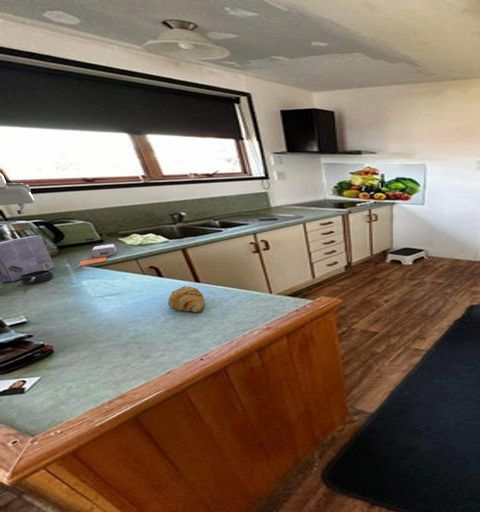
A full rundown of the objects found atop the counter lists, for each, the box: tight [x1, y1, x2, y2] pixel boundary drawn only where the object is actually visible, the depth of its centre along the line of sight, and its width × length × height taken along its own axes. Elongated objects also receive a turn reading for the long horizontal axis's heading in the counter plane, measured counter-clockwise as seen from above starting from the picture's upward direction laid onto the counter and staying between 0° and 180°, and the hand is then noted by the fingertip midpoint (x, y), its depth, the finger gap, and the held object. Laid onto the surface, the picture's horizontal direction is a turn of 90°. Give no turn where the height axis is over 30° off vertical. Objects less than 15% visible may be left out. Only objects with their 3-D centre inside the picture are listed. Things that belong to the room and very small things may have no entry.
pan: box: [19, 269, 55, 285], centre depth 123 cm, size 9×9×4 cm
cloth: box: [78, 256, 108, 267], centre depth 147 cm, size 10×10×1 cm
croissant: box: [167, 286, 205, 313], centre depth 98 cm, size 21×10×8 cm
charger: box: [91, 243, 117, 258], centre depth 161 cm, size 5×9×15 cm
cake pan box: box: [0, 234, 56, 283], centre depth 128 cm, size 19×5×18 cm, turn 3°
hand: (4, 215), depth 121 cm, fingers open, 8 cm apart
